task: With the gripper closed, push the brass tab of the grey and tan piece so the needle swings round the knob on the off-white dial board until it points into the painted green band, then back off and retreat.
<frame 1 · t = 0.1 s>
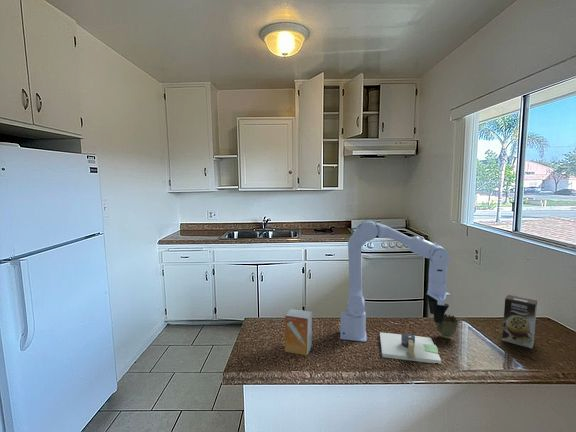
hand: (435, 317, 111), 10 cm above the countertop, fingers open, 7 cm apart
dial board: (407, 348, 110), on the countertop
olive rounded piece: (445, 338, 118), on the countertop
small box: (298, 350, 109), on the countertop
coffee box: (517, 342, 115), on the countertop
grey and tan piece: (409, 343, 106), point 4 cm above the countertop, hinge at 0.0°
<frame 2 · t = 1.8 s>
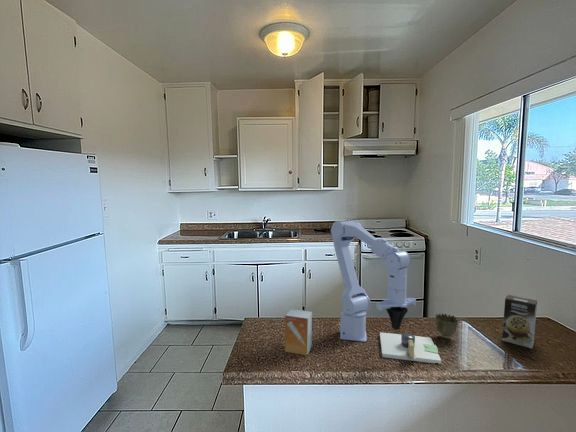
hand: (395, 328, 103), 10 cm above the countertop, fingers closed
nothing on the countertop moved.
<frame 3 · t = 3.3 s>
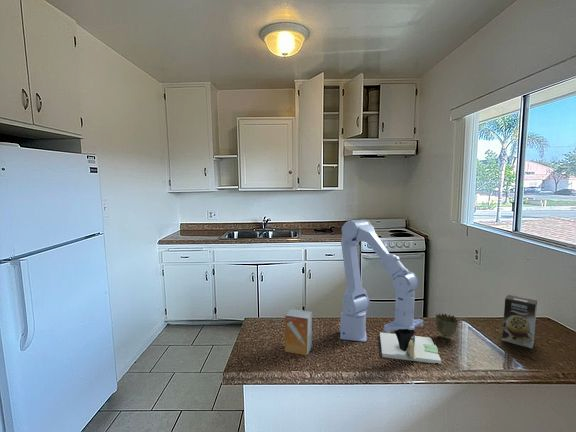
hand: (403, 349, 104), 3 cm above the countertop, fingers closed, pressing on grey and tan piece
grey and tan piece: (409, 343, 106), point 4 cm above the countertop, hinge at 0.0°, touching gripper
everything else where it was.
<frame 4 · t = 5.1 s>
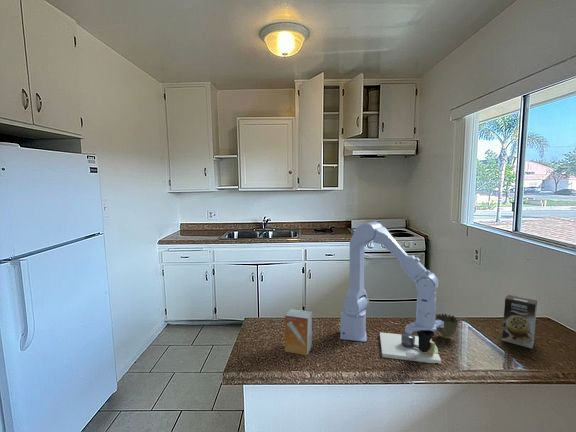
hand: (423, 350, 104), 2 cm above the countertop, fingers closed, pressing on grey and tan piece
grey and tan piece: (417, 342, 107), point 4 cm above the countertop, hinge at 53.5°, touching gripper
everything else where it was.
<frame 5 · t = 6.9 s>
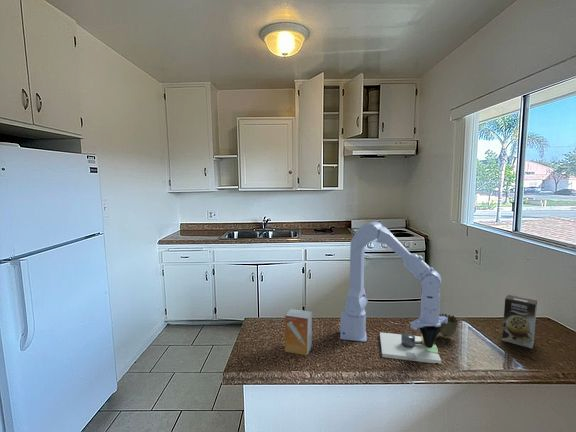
hand: (428, 346, 106), 3 cm above the countertop, fingers closed
grey and tan piece: (417, 338, 110), point 4 cm above the countertop, hinge at 106.3°
everything else where it was.
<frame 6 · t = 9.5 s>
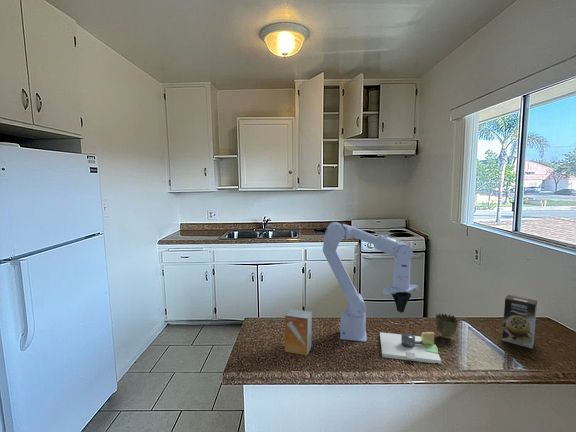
hand: (400, 311, 116), 10 cm above the countertop, fingers closed
nothing on the countertop moved.
at the end: grey and tan piece at +106° (first picture: +0°); grey and tan piece touching nothing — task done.
